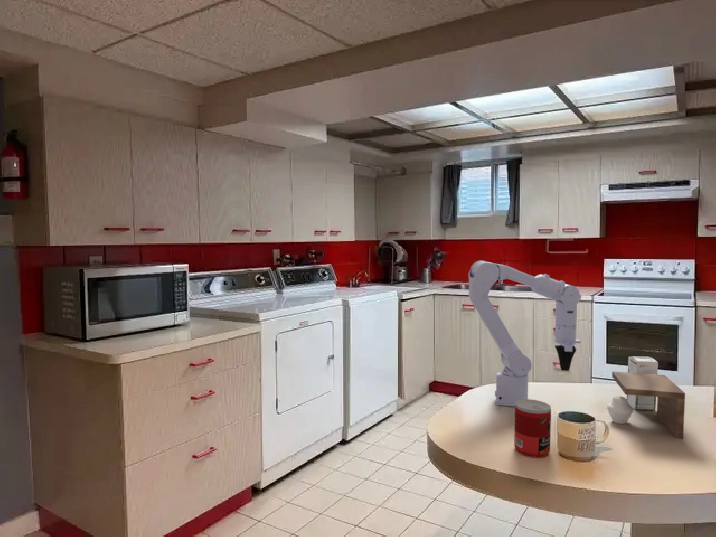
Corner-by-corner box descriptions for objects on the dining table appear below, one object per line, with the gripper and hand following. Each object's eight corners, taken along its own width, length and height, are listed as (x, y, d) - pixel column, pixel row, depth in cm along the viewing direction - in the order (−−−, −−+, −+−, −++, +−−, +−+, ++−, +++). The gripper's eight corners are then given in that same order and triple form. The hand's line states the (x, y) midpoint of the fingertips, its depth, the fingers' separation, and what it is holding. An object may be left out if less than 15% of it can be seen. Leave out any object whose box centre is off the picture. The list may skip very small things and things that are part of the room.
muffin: (610, 425, 130) (611, 399, 129) (603, 416, 136) (604, 391, 135) (635, 426, 129) (636, 400, 128) (628, 418, 135) (629, 393, 134)
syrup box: (646, 403, 146) (648, 355, 145) (656, 411, 140) (658, 360, 139) (626, 403, 146) (627, 355, 145) (635, 410, 140) (637, 360, 139)
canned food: (546, 461, 109) (547, 413, 109) (510, 453, 114) (510, 406, 113) (553, 448, 116) (554, 402, 115) (518, 441, 120) (519, 397, 119)
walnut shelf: (624, 433, 124) (625, 388, 124) (611, 411, 140) (612, 371, 139) (683, 438, 121) (685, 393, 120) (662, 415, 136) (664, 374, 135)
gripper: (584, 330, 137) (583, 378, 138) (577, 321, 151) (575, 364, 152) (557, 329, 139) (556, 376, 140) (552, 320, 153) (551, 363, 154)
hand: (564, 370), depth 146 cm, fingers closed
